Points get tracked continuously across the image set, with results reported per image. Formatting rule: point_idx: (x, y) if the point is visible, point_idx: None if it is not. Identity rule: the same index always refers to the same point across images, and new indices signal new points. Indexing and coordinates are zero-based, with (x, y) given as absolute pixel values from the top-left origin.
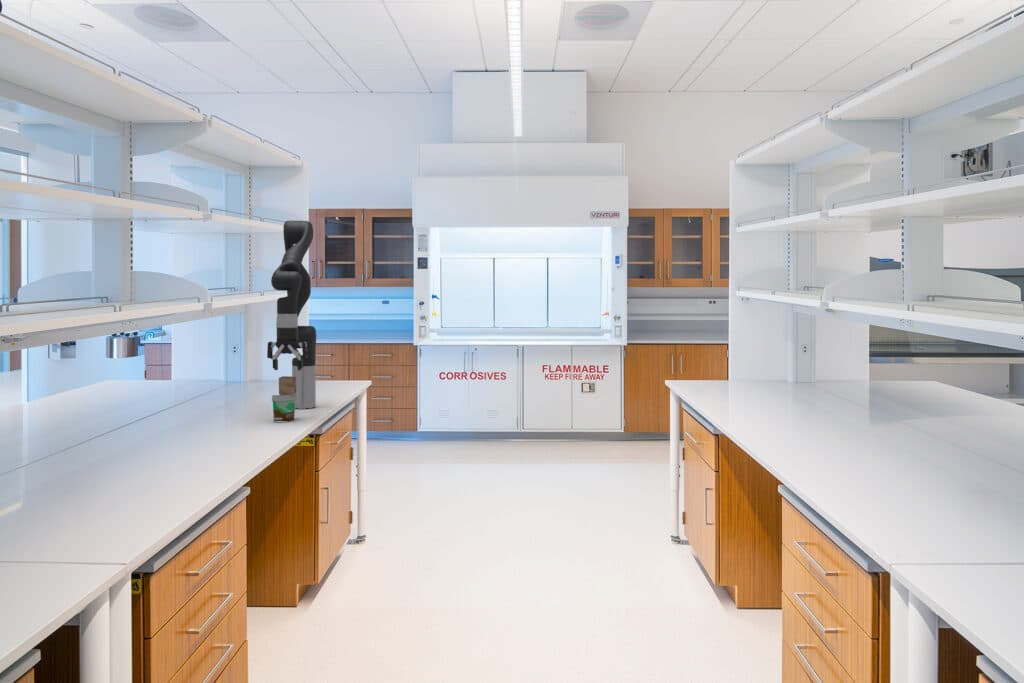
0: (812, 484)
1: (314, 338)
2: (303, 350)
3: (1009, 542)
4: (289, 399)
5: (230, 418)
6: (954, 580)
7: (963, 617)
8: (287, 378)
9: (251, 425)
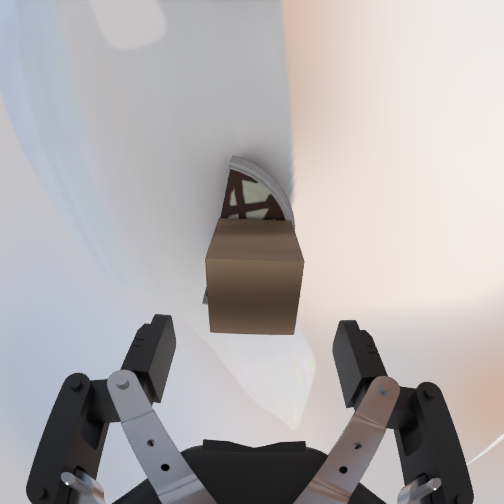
0: None
1: None
2: (410, 471)
3: None
4: None
5: (73, 193)
6: (482, 453)
7: None
8: (263, 332)
9: (175, 296)
